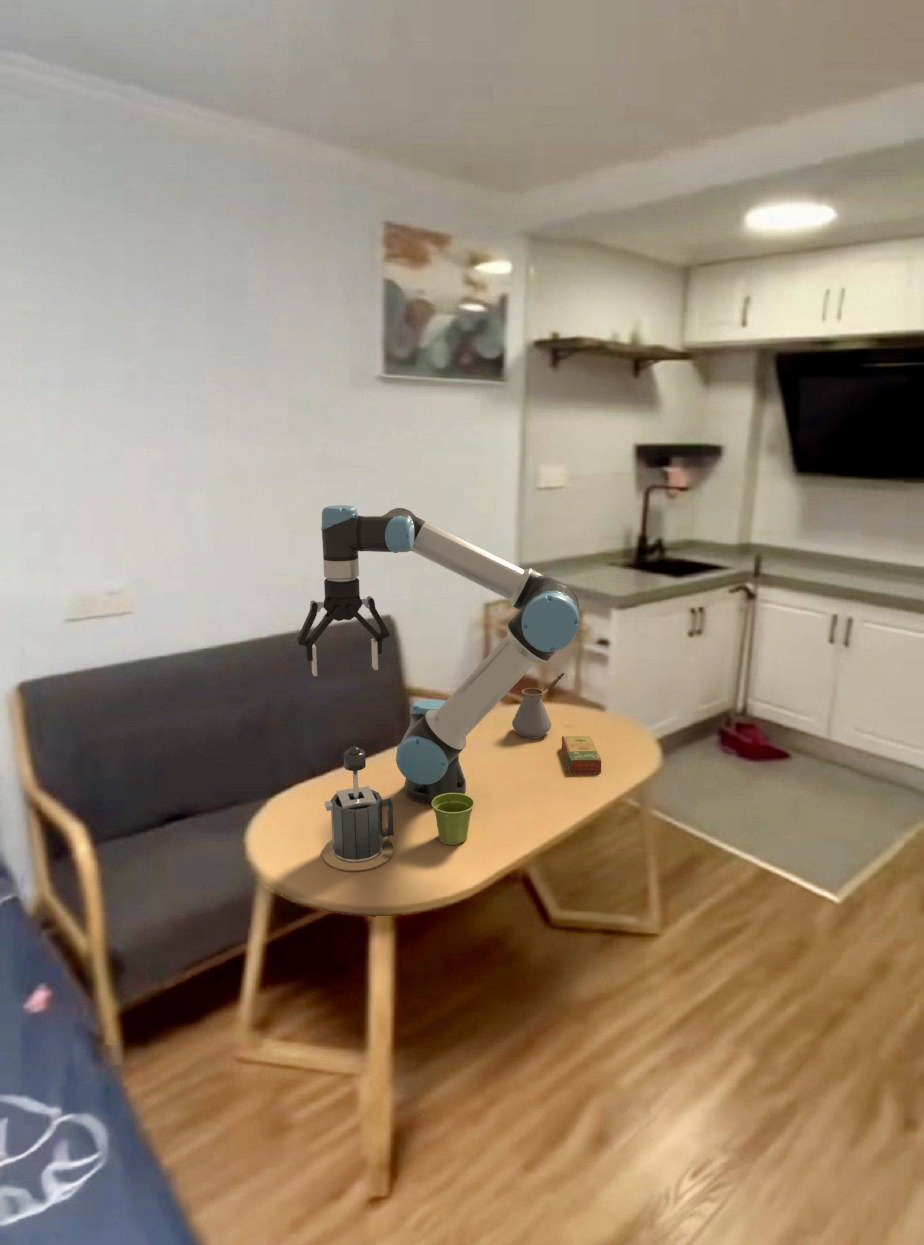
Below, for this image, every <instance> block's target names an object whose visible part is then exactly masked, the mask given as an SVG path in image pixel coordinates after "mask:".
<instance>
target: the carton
mask: <svg viewBox="0 0 924 1245" xmlns="http://www.w3.org/2000/svg"><path fill="white" fill-rule="evenodd" d="M561 751H562V754H563V757H564V759H565V762H566V763H565V764H566V766H567V769H568V771H569V772H568V773H569V774H572V775H573V774H601V773H602V759H601V756H600V754H599V752H598V750H597V748H596V746H595V743H594V741H593V739H592V737H591V735H562V736H561Z"/></svg>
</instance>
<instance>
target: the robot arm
mask: <svg viewBox="0 0 924 1245" xmlns="http://www.w3.org/2000/svg"><path fill="white" fill-rule="evenodd" d="M320 530H321V540H322V558H323V576H324V578H325V579H324V581H323V582H324V583H323V584H324V586H323V587H324V600H323V601H316V600H311V601H310V606H309V612H308V614H307V616H306V618H305V621H304V623H303V625H302V626H301V627H302V628H301V629H300V632H299V634H298V637H296V642H297V643H298V645H299V646H303V647H305V655H306V657H305V658H306V659H307V661H308V662H311V673H312V675H313V677H318V664H317V662H318V659H317V647H316V645H315V644H316V642H317V641H318V639H319V638H320V637H321V635H322V634H323V632H325V630H326V629H327V628H328V627H329V625H330V624H332V623H333V621H334V620H335V621H337V622H340V621H345V620H346V621H351V620H352V619H354V618H355V619H356V620H357V621H358V622H359V623H360V624H361V625H362V626H363V627H364V628H365V629H366V630H367V632H369V633H370V634H371V635H372V636H373V638H371V639H370V640H371V641H370V642H371V667H372V669H373V670H374V671H379V655H382V653H383V643H382V642H383V640H384V639H385V638H389V637H390V636H391V633H390V632H389V630H388V628H387V626H386V624H385V622H384V621H383V619H382V617H381V615H380V614H379V612H378V610H377V608H376V602H375V599H374V598H373V597H372V596H367V597H366V598H361V596H360V595H361V594H360V579H359V578H358V577H359V576H360V570H359V569H360V568H359V567H360V566H359V552H374V553H375V552H377V553H379V552H381V553H394V554H397V553H408V552H413V553H414V554H416V555H419V556H421V557H423V558H425V559H426V560H429V561H431V562H433V563H435V564H437V565H439V566H440V567H443V568H444V569H447V570H449V571H451V572H452V573H455V574H457V575H459V576H461V577H464V578H465V579H467V580H469V581H471V582H473V583H475V584H477V585H479V586H481V587H482V588H485V589H487V590H490V591H491V592H493V593H495V594H496V595H499V596H501V597H502V598H505V599H507V600H509V602H510V605H511V607H514V608H516V609H517V610H519V611H518V612H517V613H515V615H514V616H513V617H512V619H511V620H510V621H509V622H508V623H507V625H506V632H507V633H506V636H505V637H504V638H503V639H502V640H501V641H500V642H499V643H498V644H497V645H496V646H495V648H494V649H493V650H492V651H491V652H489V654H487V656H486V657H485V659H483V660H482V662H481V663H480V664H479V665H478V666H477V667H476V668H475V669H474V670H473V671H472V672H471V673H470V675H469V676H468V677H467V678H466V679H465V680H464V681H463V682H462V684H460V686H458V687H457V688H456V690H455V691H454V692H453V693H452V694H451V695H450V696H449V698H448V699H447V700H444V699H423V700H419V701H415V702H414V703H412V704H411V705H410V712H409V714H410V723H409V726H408V728H407V730H406V732H405V733H404V735H403V738H402V740H401V741H400V743H399V744H398V746H397V747H396V755H395V762H396V766H397V768H398V770H399V772H400V773H401V775H402V776H403V777H404V778H405V780H404V792H405V793H404V794H405V795H406V796H407V797H408V798H409V799H411V801H415V802H417V803H421V804H424V805H425V804H428V805H432V804H431V802H432V800H433V799H434V798H435V797H436V796H439V795H442V794H446V793H460V794H465V795H466V791H467V789H466V788H467V787H466V786H467V782H466V778H465V776H464V775H465V774H464V772H463V769H462V766H461V764H460V761H459V760H460V759H459V756H460V753H461V752H462V751H463V750H464V749H466V746H467V736H468V735H469V734H470V733H471V732H472V731H473V730H474V729H475V728H476V727H477V726H478V725H479V724H480V723H481V722H482V720H483V719H484V718H485V717H486V716H487V715H488V714H489V713H490V712H491V711H492V710H493V709H494V708H495V706H497V704H499V703H500V702H501V700H502V699H503V698H504V697H505V696H506V695H507V694H508V693H509V692H510V691H511V690H512V689H513V687H514V686H516V684H517V683H518V682H519V681H520V680H521V679H522V678H523V677H524V676H525V675H526V674H527V673H528V672H529V671H530V670H531V669H532V668H533V666H534V665H535V664H536V663H546V662H548V661H549V660H550V659H551V658H552V657H553V656H554V655H555V654H556V653H557V652H558V651H561V650H564V649H565V648H566V647H568V646H569V645H571V643H572V642H573V641H574V639H575V638H576V637H577V634H578V633H579V628H580V624H581V613H580V610H579V609H580V605H579V604H580V603H579V601H578V600H579V599H578V597H577V595H576V594H575V592H574V590H573V589H572V588H571V587H570V586H569V585H567V584H566V583H564V582H562V581H561V580H558V579H556V578H553V577H551V576H548V575H546V574H543V573H541V572H540V571H537V570H536V569H534V568H531V567H530V568H526V569H524V568H521V567H519V566H517V565H515V564H513V563H511V562H509V561H507V560H505V559H503V558H501V557H499V556H497V555H495V554H492V553H491V552H489V551H487V550H484V549H482V548H481V547H479V546H477V545H475V544H474V543H473V544H472V543H470V542H468V541H466V540H465V539H462V538H460V537H458V536H456V535H454V534H452V533H450V532H448V531H446V530H444V529H442V528H440V527H438V526H435V525H433V523H430V522H428V521H425V520H423V519H421V518H420V517H417V516H416V514H415V513H414V512H413V511H412V510H410V509H408V508H405V507H396V508H393V509H390V510H389V511H387V512H386V513H384V514H383V515H378V516H377V515H375V516H374V515H372V516H371V515H370V516H369V515H368V516H366V515H359V513H358V509H357V507H355V505H354V506H353V505H348V504H347V505H345V504H344V505H342V504H339V505H337V504H336V505H328V506H325V507H324V508H323V509H322V512H321V527H320ZM363 605H364V607H365V608H367V609H368V610H369V612H370V614H371V616H372V617H373V619H374V621H375V623H376V624H377V627H378V628H379V630H380V632H378V631H377V630H376V629H375V628H374V627H373V626H372V625H371V624H370V623H369V622H368V621H367V620H366V619H365V617H364V616H362V615H361V613H360V612H359V611H360V609H361V608H362V606H363ZM322 608H323V609H324V610H325V611H326V613H325V614H324V616H322V619H321V620H320V621H319V623H318V624H317V626H316V627H315V628H314V629H313V631H312V632H311V633H310V631H311V629H312V626H313V624H314V622H315V620H316V617H317V614H318V613H319V612H321V610H322ZM309 633H310V635H309Z"/></svg>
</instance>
